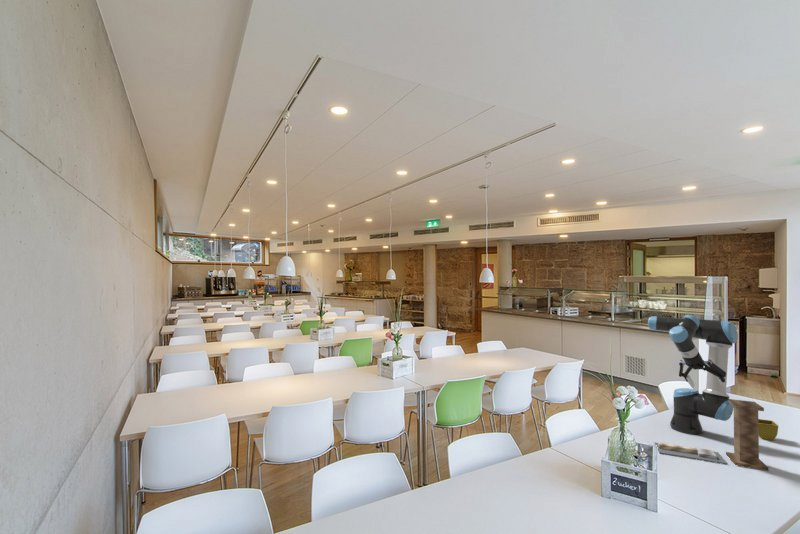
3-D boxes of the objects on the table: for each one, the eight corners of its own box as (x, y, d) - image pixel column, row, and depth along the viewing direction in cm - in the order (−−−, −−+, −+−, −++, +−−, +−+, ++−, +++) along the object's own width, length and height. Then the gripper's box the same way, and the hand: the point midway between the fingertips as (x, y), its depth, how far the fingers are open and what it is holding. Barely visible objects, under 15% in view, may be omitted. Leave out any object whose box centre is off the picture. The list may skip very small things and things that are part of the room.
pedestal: (735, 465, 181) (734, 405, 182) (725, 454, 192) (725, 398, 193) (768, 470, 177) (767, 408, 177) (757, 459, 188) (756, 401, 188)
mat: (659, 453, 193) (659, 452, 193) (654, 443, 205) (654, 442, 205) (727, 464, 182) (727, 463, 182) (718, 453, 194) (717, 452, 194)
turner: (660, 450, 196) (660, 446, 196) (657, 444, 202) (657, 440, 202) (716, 459, 186) (716, 455, 186) (712, 453, 193) (712, 449, 193)
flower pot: (757, 439, 212) (757, 422, 212) (752, 433, 220) (751, 417, 220) (779, 442, 208) (778, 425, 208) (772, 436, 216) (772, 420, 216)
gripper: (661, 359, 204) (679, 390, 207) (718, 358, 184) (737, 392, 187) (664, 350, 208) (682, 380, 211) (721, 347, 188) (739, 381, 191)
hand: (708, 386), depth 199 cm, fingers open, 13 cm apart
